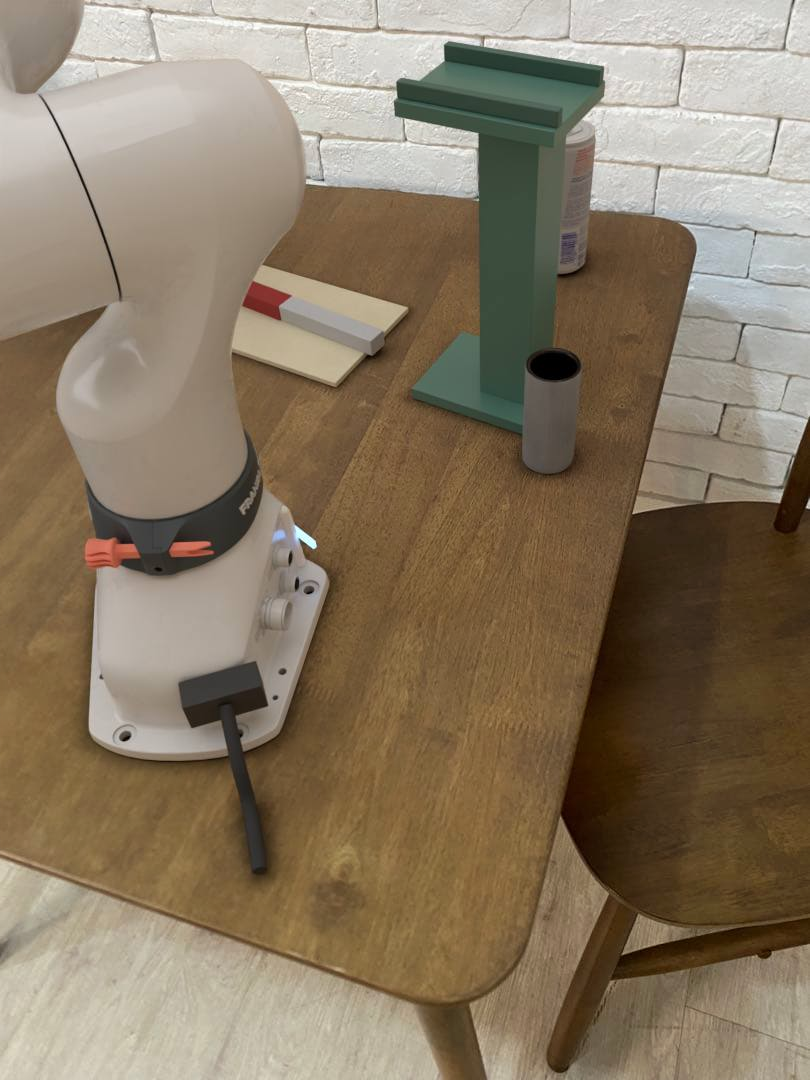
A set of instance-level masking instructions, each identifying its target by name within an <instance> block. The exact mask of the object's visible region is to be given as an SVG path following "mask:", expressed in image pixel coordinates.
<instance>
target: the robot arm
mask: <svg viewBox="0 0 810 1080" xmlns="http://www.w3.org/2000/svg"><path fill="white" fill-rule="evenodd" d="M85 6H86V0H0V341H5V340H6V341H7V340H8V339H12V338H15V337H18V336H20V335H23V334H26V333H29V332H32V331H35V330H38V329H41V328H44V327H47V326H50V325H53V324H55V323H58V322H62V321H64V320H67V319H71V318H75V317H77V316H79V315H82V314H86V313H88V312H91V311H94V310H98V309H101V308H103V307H105V310H104V311H103V312H102V313H101V315H100V316H99V317H98V319H97V320H96V321H95V322H94V323H93V324H92V326H90V327H89V328H88V330H86V332H84V334H82V335H81V336H80V338H79V339H78V340H77V341H76V342H75V344H74V345H72V347H71V349H70V350H69V351H68V354H67V355H66V357H65V359H64V362H63V364H62V367H61V370H60V373H59V376H58V380H57V383H56V384H57V385H56V391H55V406H56V412H57V415H58V418H59V420H60V423H61V425H62V427H63V430H64V432H65V434H66V436H67V438H68V440H69V443H70V445H71V448H72V450H73V452H74V454H75V456H76V458H77V461H78V463H79V465H80V467H81V470H82V473H83V475H84V486H85V491H86V492H85V493H86V503H87V507H88V514H89V517H90V518H89V519H90V521H92V524H93V529H94V534H95V538H94V537H92V538H88V539H87V542H86V543H85V547H84V559H85V562H86V565H87V567H88V568H89V569H92V570H96V584H95V591H94V607H93V608H94V609H93V625H92V626H93V628H92V647H91V648H92V649H91V667H90V668H91V669H90V684H89V685H90V688H89V707H88V732H89V734H90V736H91V739H92V740H93V741H94V742H95V743H96V744H98V745H99V746H101V747H103V748H104V749H106V750H108V751H110V752H113V753H115V754H117V755H122V756H125V757H128V758H135V759H140V760H147V761H149V760H150V761H161V762H163V761H164V762H166V761H167V762H182V761H184V762H185V761H202V760H209V759H219V758H224V757H228V758H229V763H230V768H231V772H232V775H233V776H232V777H233V779H234V782H235V786H236V789H237V793H238V797H239V802H240V806H241V811H242V815H243V821H244V826H245V832H246V839H247V846H248V852H249V853H248V854H249V860H250V867H251V873H252V874H253V875H261V874H264V873H266V872H267V871H268V863H267V858H266V851H265V845H264V840H263V838H264V837H263V833H262V826H261V822H260V821H261V820H260V816H259V810H258V806H257V801H256V797H255V792H254V789H253V786H252V783H251V778H250V774H249V770H248V766H247V762H246V758H245V752H248V751H250V750H252V749H255V748H257V747H259V746H261V745H264V744H265V743H268V742H269V741H271V740H272V739H274V738H276V737H277V736H278V735H279V734H280V733H281V730H282V729H283V726H284V723H285V721H286V718H287V715H288V713H289V712H288V711H289V708H290V705H291V703H292V699H293V696H294V693H295V691H296V688H297V686H298V685H297V684H298V682H299V679H300V676H301V673H302V670H303V667H304V664H305V661H306V657H307V655H308V652H309V650H310V649H309V648H310V646H311V643H312V639H313V637H314V633H315V631H316V629H317V625H318V622H319V619H320V616H321V613H322V611H323V606H324V604H325V600H326V597H327V595H328V592H329V589H330V579H329V576H328V574H327V572H326V570H325V569H324V568H323V567H321V566H319V564H316V563H315V562H313V561H311V560H310V559H307V558H306V557H305V553H304V550H303V547H302V544H301V541H302V542H304V543H305V544H306V545H308V546H309V547H310V548H312V549H313V550H315V549H316V548H317V543H316V540H314V539H313V537H311V536H310V535H308V534H307V533H306V532H304V531H303V530H302V529H301V528H299V527H298V526H297V525H295V522H294V519H293V515H292V513H291V510H290V508H289V507H287V506H286V505H285V503H283V501H281V500H280V499H278V498H277V497H276V496H275V495H274V494H273V493H272V492H271V491H270V490H269V489H268V488H267V487H266V486H265V484H264V479H263V475H262V466H261V461H260V457H259V455H258V451H257V449H256V447H255V446H254V443H253V440H252V438H251V436H250V434H249V433H248V431H247V430H246V429H245V428H244V427H243V422H242V417H241V413H240V408H239V405H238V399H237V392H236V386H235V379H234V378H235V377H234V372H233V362H232V361H233V359H232V355H233V352H232V343H233V337H234V332H235V327H236V324H237V320H238V316H239V313H240V310H241V307H242V304H243V302H244V299H245V297H246V294H247V292H248V290H249V287H250V285H251V283H252V281H253V279H254V277H255V276H256V274H257V272H258V270H259V268H260V267H261V265H264V263H265V261H266V259H267V258H268V256H269V255H270V253H271V252H272V251H273V250H274V248H275V247H276V245H277V244H278V243H279V242H280V241H281V240H282V238H283V237H284V236H285V235H286V234H287V233H288V232H289V231H290V230H291V229H292V227H293V226H294V225H295V223H296V220H297V218H298V216H299V213H300V211H301V208H302V204H303V202H304V196H305V191H306V186H307V169H308V168H307V157H306V149H305V144H304V139H303V136H302V133H301V130H300V127H299V124H298V122H297V120H296V118H295V116H294V114H293V112H292V110H291V108H290V106H289V105H288V103H287V101H286V100H285V99H284V97H283V96H282V94H281V93H280V92H279V90H278V89H277V88H276V87H275V86H274V85H273V83H272V82H270V80H269V79H268V78H267V77H265V76H264V75H263V73H261V72H260V71H258V69H256V68H254V67H253V66H252V65H250V64H248V63H247V62H245V61H244V60H241V59H240V58H239V59H238V58H226V59H225V58H214V59H213V58H211V59H209V58H208V59H207V58H205V59H204V58H203V59H202V58H201V59H182V60H165V61H164V60H163V61H154V62H151V63H147V64H144V65H141V66H137V67H133V68H130V69H126V70H121V71H118V72H115V73H111V74H108V75H104V76H99V77H96V78H93V79H89V80H85V81H82V82H77V83H74V84H70V85H68V86H63V87H60V88H55V89H52V90H48V91H44V92H41V93H37V92H38V91H39V90H40V88H42V87H43V86H44V85H45V84H46V83H47V82H48V81H49V80H50V79H51V78H52V77H53V76H54V75H55V74H56V73H57V72H58V70H60V68H61V67H62V66H63V64H64V63H65V61H66V60H67V59H68V58H69V55H70V53H71V52H72V49H73V48H74V45H75V43H76V41H77V38H78V35H79V32H80V30H81V28H82V25H83V19H84V15H85V8H86V7H85ZM300 540H301V541H300ZM310 592H312V593H310ZM307 593H309V594H307ZM241 735H242V736H241ZM127 737H129V739H128V740H126V741H123V740H125V739H126V738H127Z"/></svg>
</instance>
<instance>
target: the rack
mask: <svg viewBox="0 0 810 1080" xmlns="http://www.w3.org/2000/svg"><path fill="white" fill-rule="evenodd" d="M604 75H605V66H604V65H600V64H599V65H598V64H593V63H586V62H581V61H576V60H575V61H574V60H569V59H561V58H555V57H550V56H543V55H538V54H530V53H525V52H519V51H513V50H507V49H501V48H493V47H488V46H482V45H475V44H470V43H469V44H468V43H463V42H457V41H451V40H448V41H447V42H445V43H444V44H443V62H441V63H440V64H438V65H437V66H436V67H435V68H434V69H432V70H431V71H429V72H428V73H427V74H426V75H425V76H423V77H422V78H421V79H420V80H417V79H412V78H407V77H400V78H399V79H397V80H396V82H395V84H396V99H394V100H393V110H394V111H393V112H394V117H396V118H401V119H406V120H410V121H416V122H420V123H426V124H429V125H434V126H435V125H436V126H441V127H445V128H451V129H455V130H460V131H466V132H470V133H475V134H477V136H478V137H477V143H478V145H477V146H478V147H477V148H478V149H477V150H478V153H477V156H478V157H477V159H478V160H477V161H478V284H479V285H478V291H479V292H478V293H479V294H478V296H479V297H478V299H479V302H478V304H479V305H478V307H479V309H478V311H479V312H478V313H479V315H478V316H479V336H478V335H475V334H471V333H468V332H465V331H460V333H459V334H458V335H456V337H455V338H454V340H453V341H452V342H451V343H450V344H449V345H448V346H447V347H446V348H445V350H444V351H443V352H442V353H441V354H440V355H439V356H438V358H437V359H436V360H435V361H434V362H433V364H431V366H429V368H428V369H427V370H426V371H425V372H424V374H423V375H422V376H420V378H419V379H418V381H416V383H415V384H414V385H413V386H412V387H411V397H412V399H414V400H418V401H420V402H423V403H426V404H429V405H432V406H435V407H439V408H442V409H445V410H447V411H450V412H453V413H456V414H459V415H463V416H465V417H468V418H471V419H475V420H477V421H480V422H484V423H487V424H489V425H492V426H494V427H495V426H496V427H498V428H501V429H504V430H507V431H510V432H512V433H517V434H519V435H522V436H523V412H524V388H525V365H526V361H527V359H528V358H529V356H530V355H531V354H533V353H534V352H536V351H538V350H541V349H545V348H554V347H553V346H554V335H555V334H554V332H555V317H556V302H557V301H556V300H557V287H558V286H557V285H558V284H557V283H558V274H557V272H558V256H559V240H560V225H561V209H562V194H563V178H564V163H565V147H566V135H567V134H568V133H569V132H570V131H571V130H572V129H573V128H574V127H575V126H576V125H577V124H578V123H579V122H580V121H581V120H584V118H585V117H586V116H587V115H588V113H590V112H591V110H592V109H594V107H595V106H596V105H598V103H599V102H601V100H602V99H603V98H604V97H605V93H606V92H605V91H606V80H604Z"/></svg>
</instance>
